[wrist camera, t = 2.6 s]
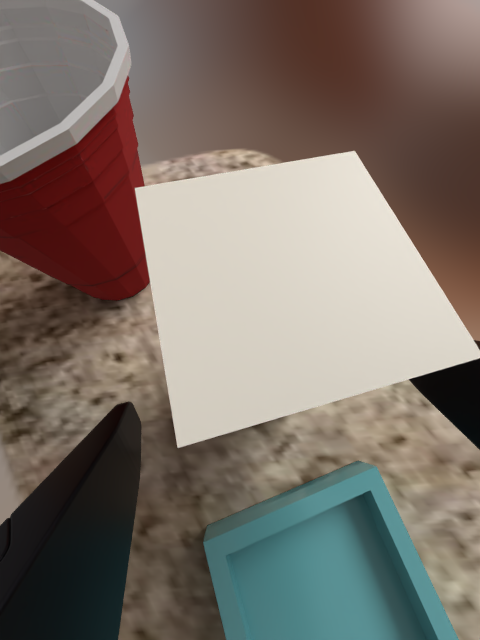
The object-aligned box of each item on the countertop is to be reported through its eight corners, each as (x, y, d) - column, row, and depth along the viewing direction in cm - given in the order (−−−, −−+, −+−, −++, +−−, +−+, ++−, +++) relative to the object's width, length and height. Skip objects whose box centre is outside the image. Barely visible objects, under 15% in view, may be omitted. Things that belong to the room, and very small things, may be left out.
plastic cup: (49, 217, 21) (-167, -23, 9) (183, 206, 21) (131, -27, 10) (27, 346, 17) (-384, 196, 6) (193, 326, 18) (125, 160, 6)
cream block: (291, 405, 16) (483, 356, 4) (220, 426, 15) (177, 448, 3) (269, 338, 17) (354, 151, 5) (204, 355, 17) (134, 187, 5)
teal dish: (454, 672, 12) (496, 720, 10) (271, 783, 10) (279, 863, 8) (358, 460, 15) (376, 466, 13) (207, 525, 13) (203, 542, 12)
